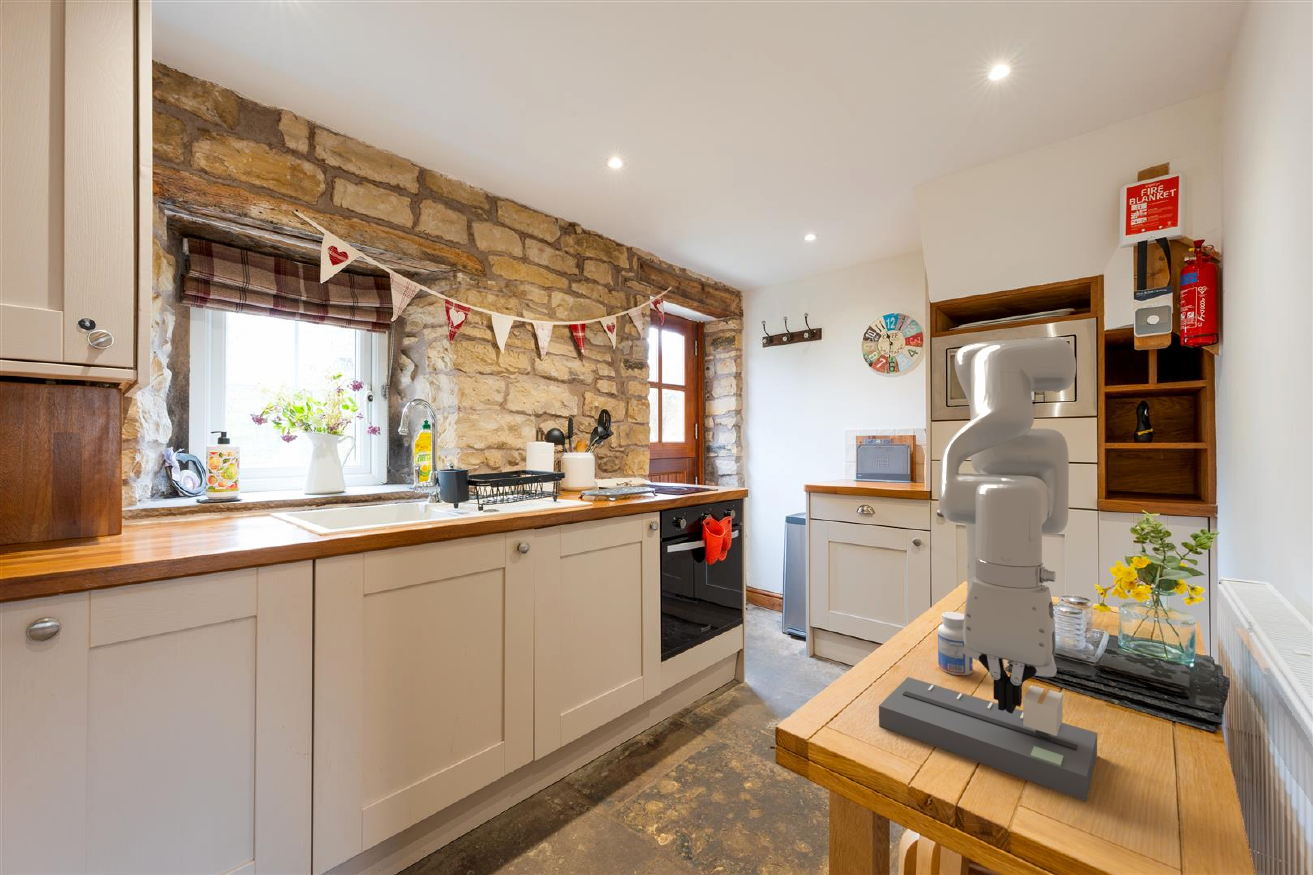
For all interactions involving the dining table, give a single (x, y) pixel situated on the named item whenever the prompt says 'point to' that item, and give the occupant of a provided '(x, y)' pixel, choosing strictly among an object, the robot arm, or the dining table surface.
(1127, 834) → the dining table surface
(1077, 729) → the console
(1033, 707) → the fader
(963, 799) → the dining table surface
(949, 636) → the pill bottle
